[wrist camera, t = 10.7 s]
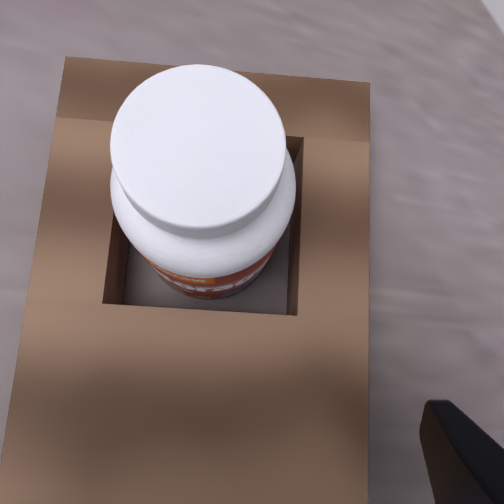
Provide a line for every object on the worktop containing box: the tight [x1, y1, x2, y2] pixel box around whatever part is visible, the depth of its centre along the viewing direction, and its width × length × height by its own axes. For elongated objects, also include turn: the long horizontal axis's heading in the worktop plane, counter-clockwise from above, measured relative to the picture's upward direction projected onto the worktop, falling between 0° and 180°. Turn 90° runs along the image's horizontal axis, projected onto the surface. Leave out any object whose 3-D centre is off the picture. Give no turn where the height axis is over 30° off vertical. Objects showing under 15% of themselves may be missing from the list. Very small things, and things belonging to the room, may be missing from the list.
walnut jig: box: [0, 57, 370, 504], centre depth 20 cm, size 19×14×4 cm
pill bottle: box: [110, 64, 296, 299], centre depth 17 cm, size 6×6×11 cm
